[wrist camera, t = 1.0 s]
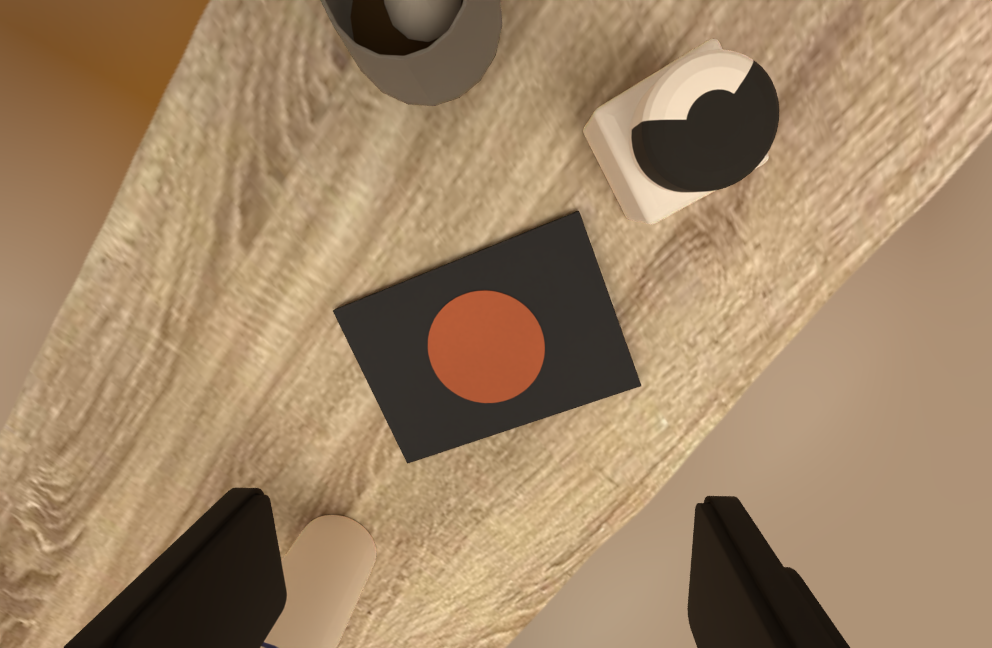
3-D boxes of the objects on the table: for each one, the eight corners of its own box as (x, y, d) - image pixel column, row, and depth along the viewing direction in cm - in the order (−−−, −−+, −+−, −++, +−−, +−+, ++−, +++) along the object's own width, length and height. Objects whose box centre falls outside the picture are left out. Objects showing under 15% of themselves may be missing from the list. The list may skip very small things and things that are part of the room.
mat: (578, 210, 34) (579, 211, 33) (639, 383, 37) (641, 386, 36) (335, 309, 37) (331, 311, 37) (409, 460, 40) (407, 464, 39)
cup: (357, -30, 31) (277, -132, 22) (498, -52, 30) (480, -170, 21) (380, 124, 34) (317, 93, 24) (511, 108, 33) (501, 68, 23)
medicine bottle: (723, 168, 32) (826, 150, 21) (627, 221, 34) (674, 232, 22) (678, 70, 31) (762, -8, 20) (580, 129, 33) (604, 90, 21)
